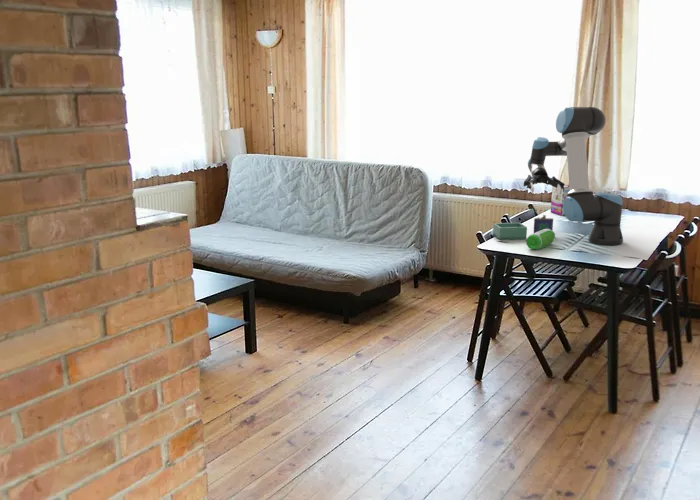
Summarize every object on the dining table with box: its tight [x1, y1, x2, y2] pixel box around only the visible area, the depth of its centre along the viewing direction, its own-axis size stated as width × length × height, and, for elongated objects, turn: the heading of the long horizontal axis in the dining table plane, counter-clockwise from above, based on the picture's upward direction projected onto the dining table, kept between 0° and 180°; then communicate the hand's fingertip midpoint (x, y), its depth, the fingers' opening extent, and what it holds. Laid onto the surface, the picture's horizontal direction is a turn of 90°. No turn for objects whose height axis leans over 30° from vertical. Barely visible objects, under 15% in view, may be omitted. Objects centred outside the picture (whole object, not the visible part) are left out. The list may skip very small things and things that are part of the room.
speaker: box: [525, 229, 556, 250], centre depth 304 cm, size 18×7×8 cm, turn 140°
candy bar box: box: [550, 185, 570, 216], centre depth 377 cm, size 11×5×16 cm, turn 17°
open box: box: [492, 222, 528, 241], centre depth 323 cm, size 10×13×6 cm
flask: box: [533, 214, 554, 233], centre depth 324 cm, size 9×3×11 cm, turn 88°
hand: (546, 191), depth 327 cm, fingers open, 13 cm apart
